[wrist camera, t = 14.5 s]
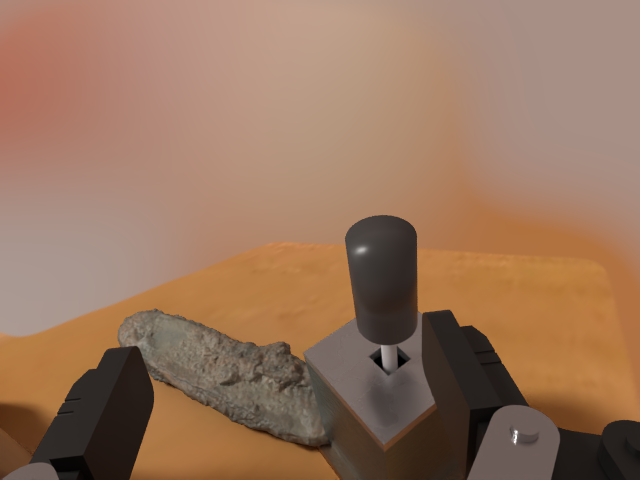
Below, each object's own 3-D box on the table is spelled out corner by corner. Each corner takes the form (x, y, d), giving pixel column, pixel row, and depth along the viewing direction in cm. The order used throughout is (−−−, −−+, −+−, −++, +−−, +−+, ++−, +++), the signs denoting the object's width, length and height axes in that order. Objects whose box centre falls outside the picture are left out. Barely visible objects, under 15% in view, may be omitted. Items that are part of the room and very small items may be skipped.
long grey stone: (160, 312, 70) (110, 365, 64) (144, 288, 66) (90, 341, 61) (368, 392, 52) (325, 475, 46) (360, 365, 49) (313, 451, 43)
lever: (363, 434, 46) (331, 236, 29) (397, 408, 47) (383, 207, 31) (394, 470, 43) (376, 272, 26) (428, 441, 44) (432, 237, 28)
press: (315, 446, 49) (286, 351, 38) (400, 381, 53) (394, 280, 43) (392, 550, 41) (382, 466, 30) (484, 463, 45) (503, 364, 35)
